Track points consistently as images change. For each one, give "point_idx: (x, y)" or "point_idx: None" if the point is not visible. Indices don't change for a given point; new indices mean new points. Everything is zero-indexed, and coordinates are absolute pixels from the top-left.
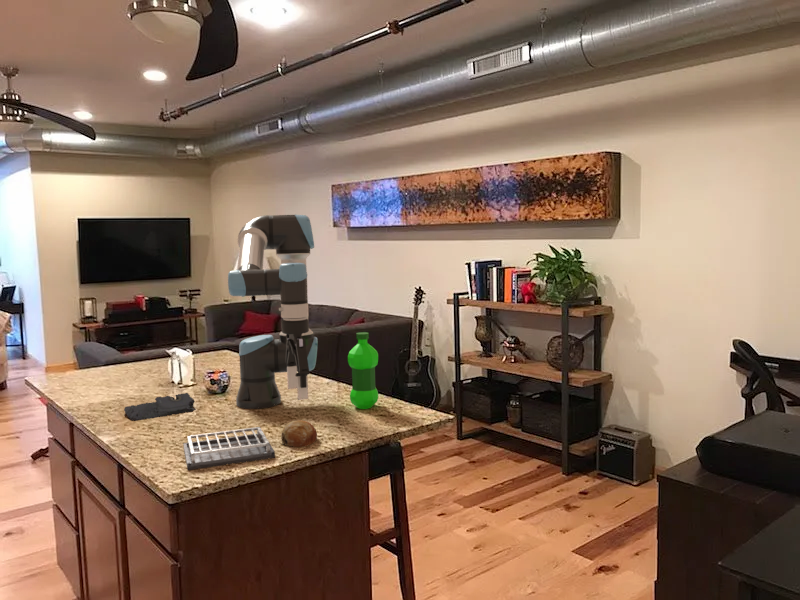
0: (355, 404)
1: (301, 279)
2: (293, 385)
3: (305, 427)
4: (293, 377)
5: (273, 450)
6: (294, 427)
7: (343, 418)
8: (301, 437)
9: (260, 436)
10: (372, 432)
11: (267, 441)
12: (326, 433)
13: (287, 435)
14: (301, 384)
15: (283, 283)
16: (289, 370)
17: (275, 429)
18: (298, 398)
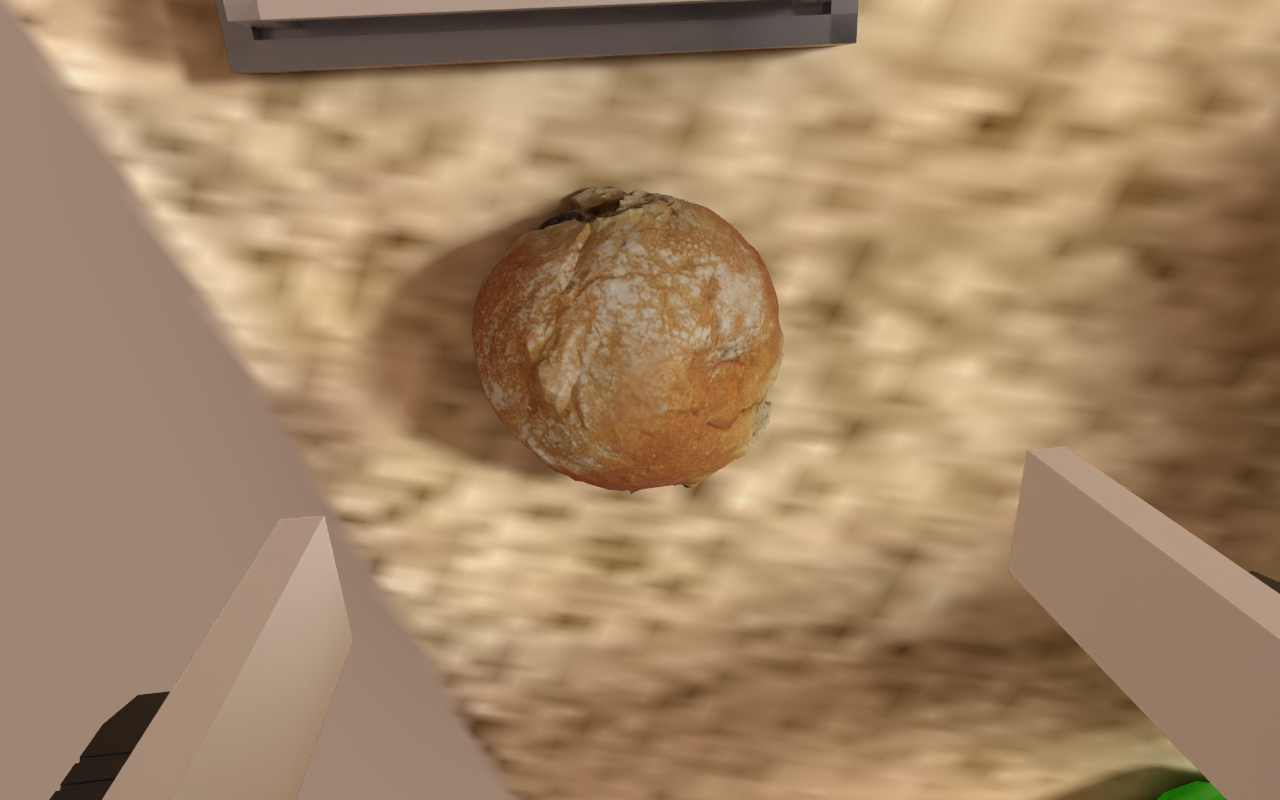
0: (1193, 798)
1: None
2: (1043, 546)
3: (547, 424)
4: (1131, 633)
5: (276, 66)
6: (548, 329)
7: (1020, 681)
8: (476, 355)
9: (794, 4)
10: (638, 788)
11: (296, 7)
12: (741, 539)
13: (546, 244)
14: (86, 759)
15: None
16: (1266, 673)
17: (1035, 186)
18: (273, 530)
